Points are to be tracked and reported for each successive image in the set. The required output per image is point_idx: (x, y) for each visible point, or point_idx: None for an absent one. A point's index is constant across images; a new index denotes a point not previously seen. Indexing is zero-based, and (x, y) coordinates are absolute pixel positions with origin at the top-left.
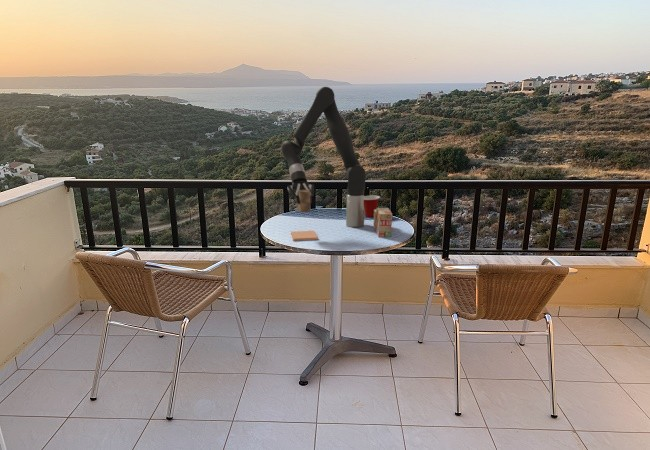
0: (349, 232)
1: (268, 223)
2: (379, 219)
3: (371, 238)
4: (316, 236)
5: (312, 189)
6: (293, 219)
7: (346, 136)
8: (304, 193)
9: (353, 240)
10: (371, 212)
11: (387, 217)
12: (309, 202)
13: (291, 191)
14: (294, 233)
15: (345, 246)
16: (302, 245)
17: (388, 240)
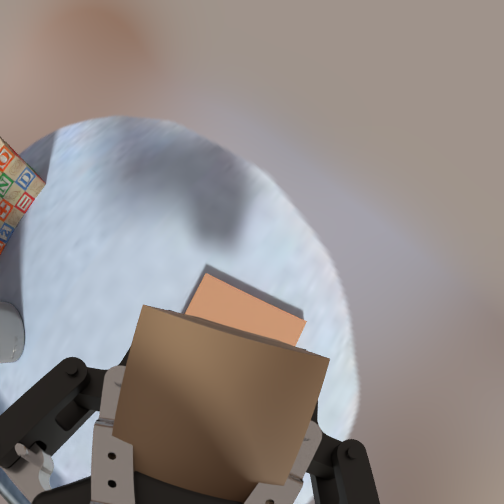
0: (58, 277)
1: None
2: (13, 156)
3: (65, 183)
4: (202, 288)
5: (44, 408)
6: None
7: None
8: (249, 337)
9: (112, 193)
10: None
11: (4, 142)
12: (191, 316)
13: (366, 486)
14: None
15: (178, 159)
16: (301, 250)
17: (57, 149)
